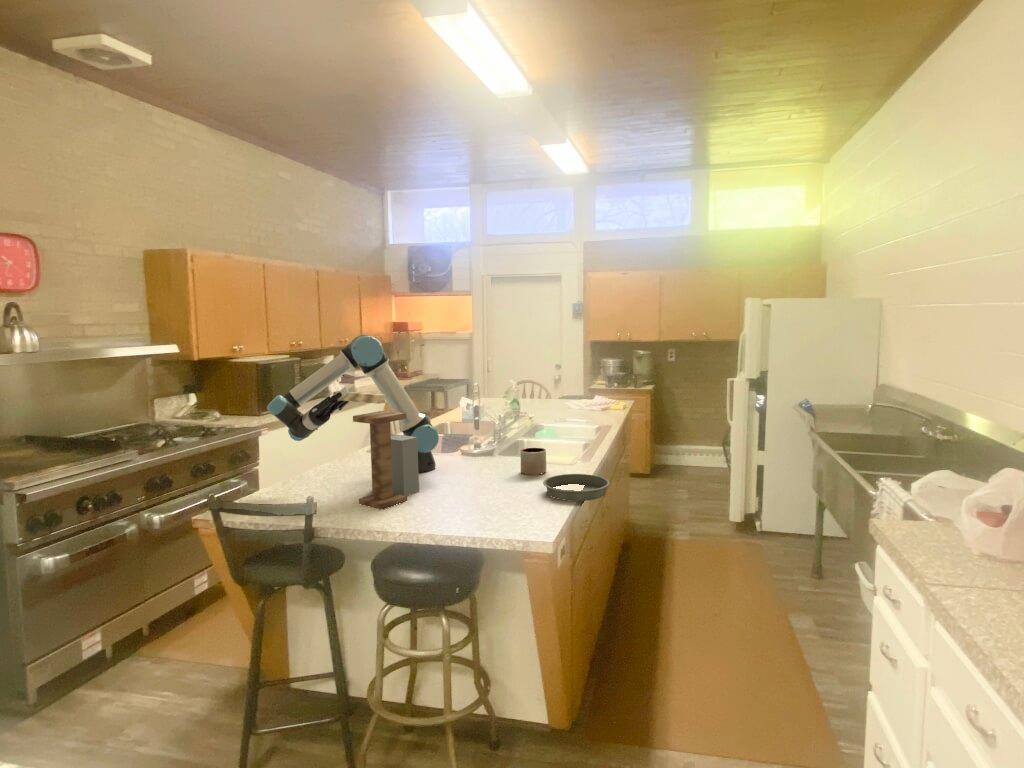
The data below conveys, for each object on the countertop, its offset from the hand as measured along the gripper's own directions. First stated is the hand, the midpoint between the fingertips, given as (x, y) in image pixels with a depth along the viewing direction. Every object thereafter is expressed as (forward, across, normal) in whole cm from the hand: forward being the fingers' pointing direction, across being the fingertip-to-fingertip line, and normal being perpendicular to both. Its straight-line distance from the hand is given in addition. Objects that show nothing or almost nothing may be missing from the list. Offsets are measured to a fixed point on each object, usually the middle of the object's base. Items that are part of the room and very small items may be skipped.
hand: (351, 389), depth 240 cm
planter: (+10, -66, -53) cm, 85 cm away
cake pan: (+37, -47, -69) cm, 91 cm away
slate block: (-15, -14, -38) cm, 43 cm away
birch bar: (+1, 0, -6) cm, 6 cm away
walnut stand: (-8, 0, -42) cm, 43 cm away
